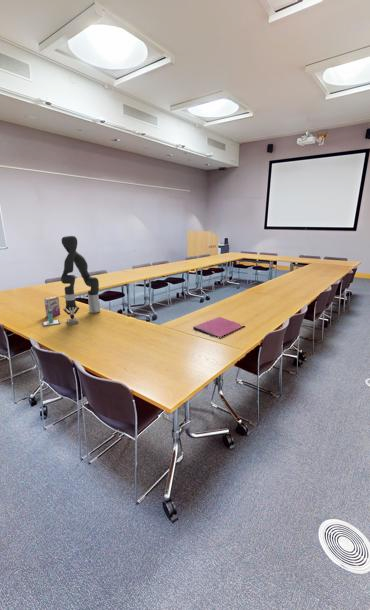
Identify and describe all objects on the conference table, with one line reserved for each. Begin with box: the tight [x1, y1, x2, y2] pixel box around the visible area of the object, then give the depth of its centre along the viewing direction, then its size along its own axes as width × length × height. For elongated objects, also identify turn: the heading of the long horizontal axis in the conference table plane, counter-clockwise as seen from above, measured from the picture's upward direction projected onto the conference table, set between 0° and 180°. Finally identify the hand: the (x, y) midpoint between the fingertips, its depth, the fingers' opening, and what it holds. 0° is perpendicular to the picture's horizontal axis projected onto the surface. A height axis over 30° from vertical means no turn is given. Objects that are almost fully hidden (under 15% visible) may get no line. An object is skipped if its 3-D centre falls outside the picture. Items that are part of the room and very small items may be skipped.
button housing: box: [66, 317, 79, 326], centre depth 243 cm, size 8×8×2 cm
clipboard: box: [41, 319, 61, 328], centre depth 241 cm, size 13×10×1 cm
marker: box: [47, 310, 54, 323], centre depth 239 cm, size 3×3×10 cm
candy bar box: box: [44, 296, 61, 317], centre depth 258 cm, size 11×5×16 cm, turn 146°
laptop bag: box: [193, 316, 243, 339], centre depth 235 cm, size 40×4×27 cm
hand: (72, 318), depth 242 cm, fingers closed
